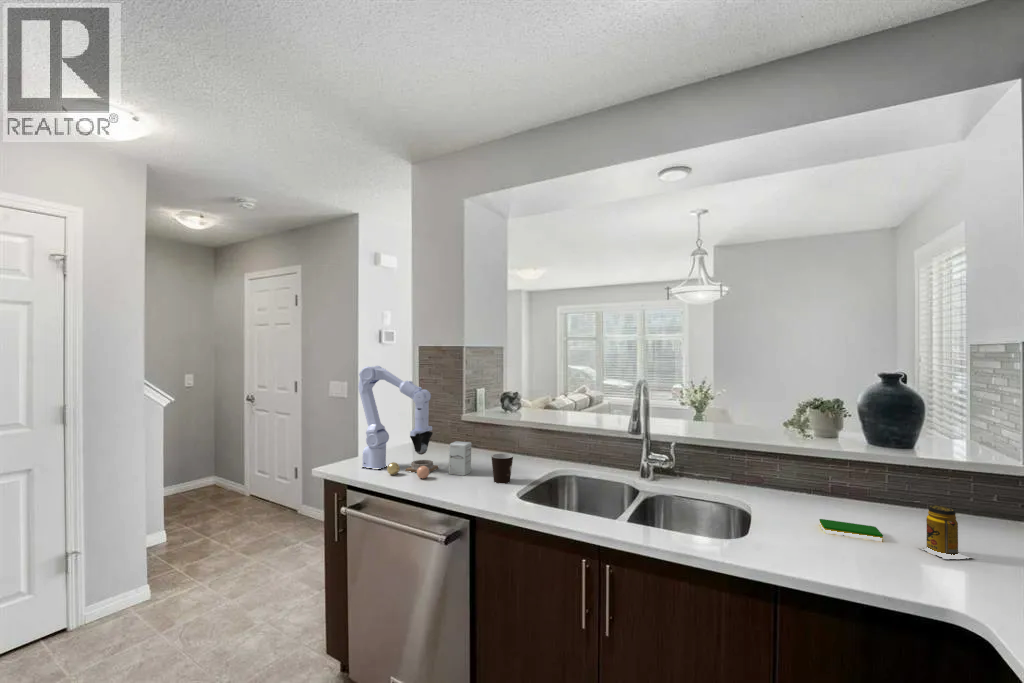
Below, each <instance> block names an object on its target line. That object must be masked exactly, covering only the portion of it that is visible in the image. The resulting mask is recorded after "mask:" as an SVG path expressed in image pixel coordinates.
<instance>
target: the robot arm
mask: <svg viewBox="0 0 1024 683" xmlns="http://www.w3.org/2000/svg"><path fill="white" fill-rule="evenodd" d="M358 375H359V381H358V392H359V395H360V401H361V404H362V408H363V412H364V416H365V419H366V424H367V429H366V432H365V434H366V437H365V438H366V439H365V443H366V445H367V446H365V447H364V448H363V451H362V463H361V464H362V466H364V467H370V468H379V469H380V468H383V469H385V468H384V467H385V466H386V464H387V443H388V441H389V439H390V435H389V432H388V431H387V430H386V427H385V425H383V423H382V422H381V418H380V415H379V411H378V407H377V402H376V400H375V399H376V398H375V395H374V391H373V388H374V386H375V385H376V383H378V382H379V381H382V380H383V381H386V382H387V383H390V384H391V385H393V386H395V387H396V388H399V391H400V393H401V394H403V395H405V396H406V397H408V398H410V399H412V400H413V402H414V408H415V409H414V428H413V429H412V430H410V431H409V438H410V439H411V441H412V445H413V447H414V448H413V449H414V452H416V453H417V452H420V450H421V443H425V444H426V445H427V449H428V447H429V444H430V440H431V438H432V435H433V426H432V425H429V418H430V417H429V416H430V414H429V412H430V406H429V405H430V404H429V402H430V401H431V398H432V394H431V392H430V391H429V390H428V389H426V388H425V389H422V388H423V387H421V386H417V385H416V384H415V383H414V382H413V381H412V380H405V381H404V380H402V379H401V378H399V377H398V376H396V375H395V374H393V373H391V372H390V371H389V370H387V369H386V368H384V367H382V366H380V365H375V366H374V365H372V366H364V367H363V368H362V369H361V371H360V372H359V373H358ZM362 466H361V467H362Z"/></svg>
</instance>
